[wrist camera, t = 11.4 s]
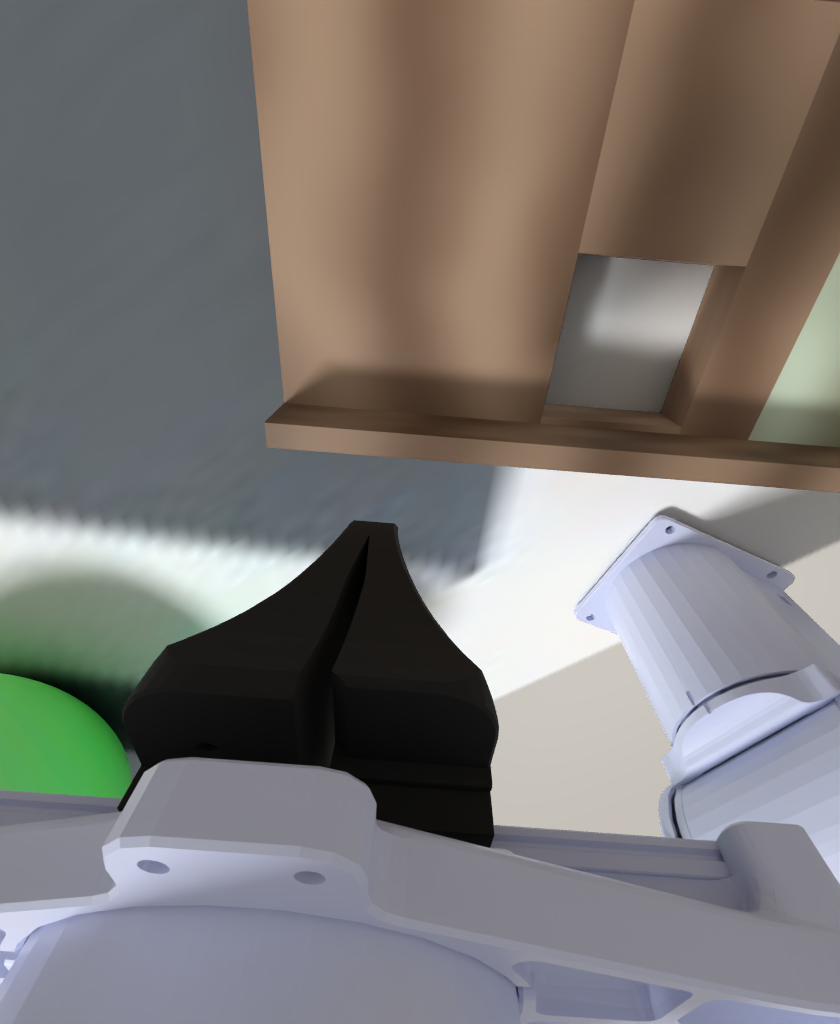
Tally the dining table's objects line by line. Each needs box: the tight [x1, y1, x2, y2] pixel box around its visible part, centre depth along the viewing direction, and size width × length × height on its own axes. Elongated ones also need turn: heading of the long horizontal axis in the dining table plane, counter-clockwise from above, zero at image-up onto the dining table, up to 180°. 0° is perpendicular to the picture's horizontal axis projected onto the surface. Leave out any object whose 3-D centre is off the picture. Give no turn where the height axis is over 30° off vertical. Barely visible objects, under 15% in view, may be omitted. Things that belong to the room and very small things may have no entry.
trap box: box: [247, 0, 840, 492], centre depth 13 cm, size 28×21×5 cm
